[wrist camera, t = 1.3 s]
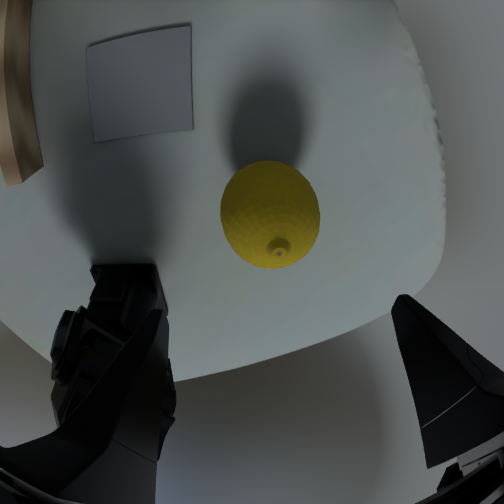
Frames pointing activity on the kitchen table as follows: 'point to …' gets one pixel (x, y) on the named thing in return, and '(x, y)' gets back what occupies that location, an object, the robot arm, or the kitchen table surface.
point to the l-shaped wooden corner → (16, 95)
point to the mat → (141, 84)
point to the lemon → (270, 214)
